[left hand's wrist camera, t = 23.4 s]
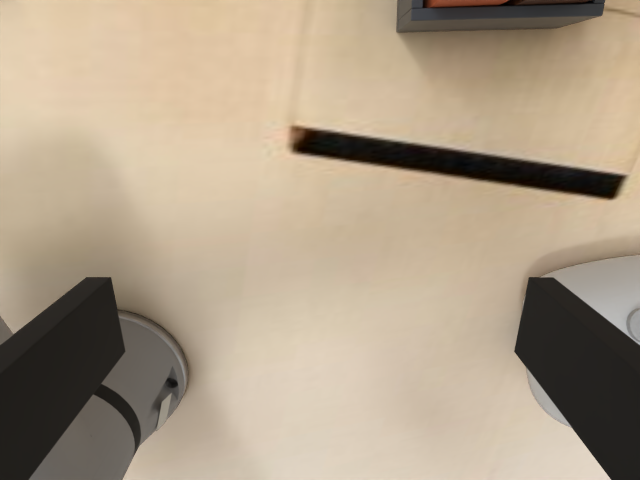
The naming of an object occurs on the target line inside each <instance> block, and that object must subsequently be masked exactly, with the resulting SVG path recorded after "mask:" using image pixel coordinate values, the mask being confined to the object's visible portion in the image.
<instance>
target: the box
mask: <svg viewBox="0 0 640 480" xmlns="http://www.w3.org/2000/svg"><path fill="white" fill-rule="evenodd" d="M604 3H605V0H591V1H588V2H585V3H582V4H555V5H518V6H481V7H443V8H423V0H398V3H397V29H396V32H433V31H471V30H509V29H547V28H560V27H563V26H566V25H570V24H574V23H577V22H581V21H585V20H588V19H592V18H595V17H599V16H602V14H603V9H604Z"/></svg>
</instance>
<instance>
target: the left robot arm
mask: <svg viewBox="0 0 640 480" xmlns="http://www.w3.org/2000/svg"><path fill="white" fill-rule="evenodd" d="M514 352H515V353H516V354H517V356H518V357H519V358H520V360H521V361H522V362H523V363H524V365H525V366H526V367H527V369H528V370H529V371H530V373H531V374H532V375H533V377H534V378H535V379H536V381H537V382H538V383H539V385H540V386H541V387H542V389H543V390H544V391H545V393H546V394H547V395H548V397H549V398H550V399H551V401H552V402H553V403H554V405H555V406H556V407H557V408H558V410H559V411H560V412H561V414H562V415H563V416H564V418H565V419H566V420H567V422H568V423H569V424H570V426H571V427H572V428H573V430H574V431H575V432H576V434H577V435H578V436H579V438H580V439H581V440H582V442H583V443H584V444H585V446H586V447H587V448H588V450H589V451H590V452H591V453H592V455H593V456H594V457H595V459H596V460H597V461H598V463H599V464H600V465H601V467H602V468H603V469H604V471H605V472H606V473H607V475H608V476H609V477H610V479H611V480H640V345H639V344H638V343H636V342H635V341H634V340H633V339H631V338H630V337H629V336H628V335H626V334H625V333H624V332H622V331H621V330H620V329H619V328H617V327H616V326H615V325H614V324H612V323H611V322H610V321H608V320H607V319H606V318H605V317H603V316H602V315H601V314H600V313H598V312H597V311H596V310H594V309H593V308H592V307H591V306H589V305H588V304H587V303H585V302H584V301H583V300H582V299H580V298H579V297H578V296H577V295H575V294H574V293H573V292H571V291H570V290H569V289H568V288H566V287H565V286H564V285H563V284H561V283H560V282H559V281H557V280H556V279H555V278H554V277H529V280H528V285H527V290H526V295H525V300H524V305H523V310H522V316H521V321H520V326H519V331H518V336H517V341H516V346H515V351H514ZM187 383H188V367H187V362H186V359H185V356H184V354H183V352H182V350H181V348H180V347H179V345H178V344H177V342H176V341H175V340H174V339H173V337H172V336H171V335H170V334H169V333H168V332H167V331H165V330H164V329H163V328H162V327H160V326H159V325H157V324H156V323H154V322H153V321H151V320H149V319H147V318H145V317H143V316H140V315H137V314H134V313H131V312H127V311H121V310H117V305H116V300H115V295H114V290H113V285H112V280H111V277H86V278H85V279H84V280H83V281H81V282H80V283H79V284H77V285H76V286H75V287H74V288H72V289H71V290H70V291H69V292H67V293H66V294H65V295H63V296H62V297H61V298H60V299H58V300H57V301H56V302H55V303H53V304H52V305H51V306H49V307H48V308H47V309H46V310H44V311H43V312H42V313H40V314H39V315H38V316H37V317H35V318H34V319H33V320H32V321H30V322H29V323H28V324H26V325H25V326H24V327H23V328H21V329H20V330H19V331H18V332H16V333H15V334H13V333H12V332H11V330H10V329H9V328H8V326H7V325H6V323H5V322H4V321H3V319H2V318H1V317H0V480H122V479H123V477H124V475H125V473H126V471H127V469H128V467H129V465H130V463H131V461H132V459H133V457H134V455H135V453H136V451H137V449H138V447H139V446H140V445H141V444H142V443H143V442H144V441H145V440H146V439H147V438H148V437H149V436H150V435H151V434H152V433H153V432H154V431H155V430H156V429H157V430H158V429H159V428H160V427H161V426H162V425H163V424H164V423H165V422H166V420H167V419H168V418H169V417H170V416H171V414H172V413H173V412H174V410H175V409H176V408H177V406H178V405H179V403H180V401H181V399H182V397H183V394H184V392H185V390H186V387H187ZM157 430H156V431H157Z"/></svg>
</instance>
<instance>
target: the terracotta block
mask: <svg viewBox="0 0 640 480" xmlns="http://www.w3.org/2000/svg"><path fill="white" fill-rule="evenodd" d="M507 1H509V0H423V8H443V7H481V6H498V5H501V4H503V3H505V2H507Z"/></svg>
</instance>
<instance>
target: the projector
mask: <svg viewBox="0 0 640 480" xmlns="http://www.w3.org/2000/svg"><path fill="white" fill-rule="evenodd" d="M541 277H554V278H555V279H556V280H557V281H559V282H560V283H561V284H563V285H564V286H565V287H566V288H568V289H569V290H570V291H571V292H573V293H574V294H575V295H577V296H578V297H579V298H580V299H582V300H583V301H584V302H585V303H587V304H588V305H589V306H591V307H592V308H593V309H594V310H596V311H597V312H598V313H600V314H601V315H602V316H603V317H605V318H606V319H607V320H608V321H610V322H611V323H612V324H614V325H615V326H616V327H617V328H619V329H620V330H621V331H622V332H624V333H625V334H626V335H628V336H629V337H630V338H631V339H633V340H634V341H635V342H636V343H638V344H639V345H640V255H632V256H624V257H617V258H610V259H604V260H598V261H592V262H588V263H583V264H578V265H574V266H570V267H566V268H562V269H559V270H556V271H553V272H550V273H548V274H545V275H543V276H541ZM525 295H526V294H525ZM524 300H525V297H524ZM524 300H523V305H524ZM523 305H522V310H523ZM526 371H527V377H528V382H529V385H530V389H531V391H532V394H533V396H534V397H535V399H536V401H537V402H538V404H539V405H540V406H541V407H542V409H543V410H544V411H545V412H546V413H548V414H549V415H550V416H551V417H553V418H554V419H555V420H557V421H559V422H560V423H562V424H564V425H567V426H569V427H571V426H570V424H569V423H568V422H567V420H566V419H565V418H564V416H563V415H562V414H561V412H560V411H559V410H558V408H557V407H556V406H555V405H554V403H553V402H552V401H551V399H550V398H549V397H548V395H547V394H546V393H545V391H544V390H543V389H542V387H541V386H540V385H539V383H538V382H537V381H536V379H535V378H534V377H533V375H532V374H531V373H530V371H529V370H528V369H527V367H526ZM571 428H572V427H571Z"/></svg>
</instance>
